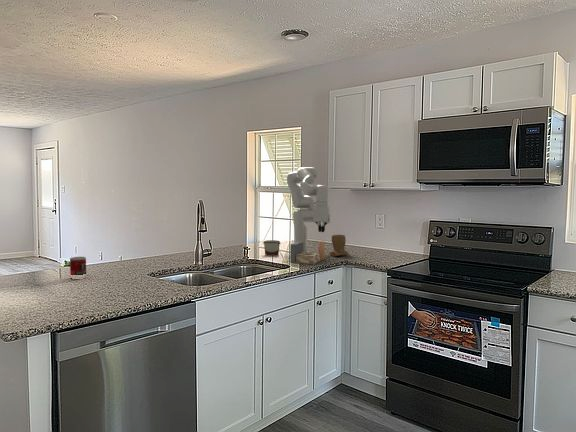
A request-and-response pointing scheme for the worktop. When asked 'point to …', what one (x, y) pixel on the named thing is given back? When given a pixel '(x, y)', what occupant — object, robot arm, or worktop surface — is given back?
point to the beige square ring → (308, 258)
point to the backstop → (295, 251)
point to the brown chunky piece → (338, 245)
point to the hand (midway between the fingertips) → (321, 231)
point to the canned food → (77, 265)
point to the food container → (271, 247)
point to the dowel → (321, 249)
